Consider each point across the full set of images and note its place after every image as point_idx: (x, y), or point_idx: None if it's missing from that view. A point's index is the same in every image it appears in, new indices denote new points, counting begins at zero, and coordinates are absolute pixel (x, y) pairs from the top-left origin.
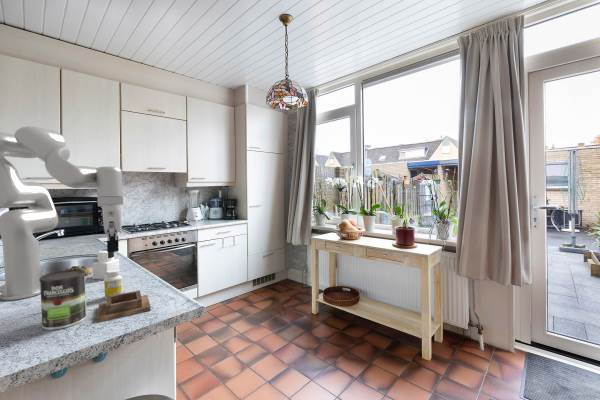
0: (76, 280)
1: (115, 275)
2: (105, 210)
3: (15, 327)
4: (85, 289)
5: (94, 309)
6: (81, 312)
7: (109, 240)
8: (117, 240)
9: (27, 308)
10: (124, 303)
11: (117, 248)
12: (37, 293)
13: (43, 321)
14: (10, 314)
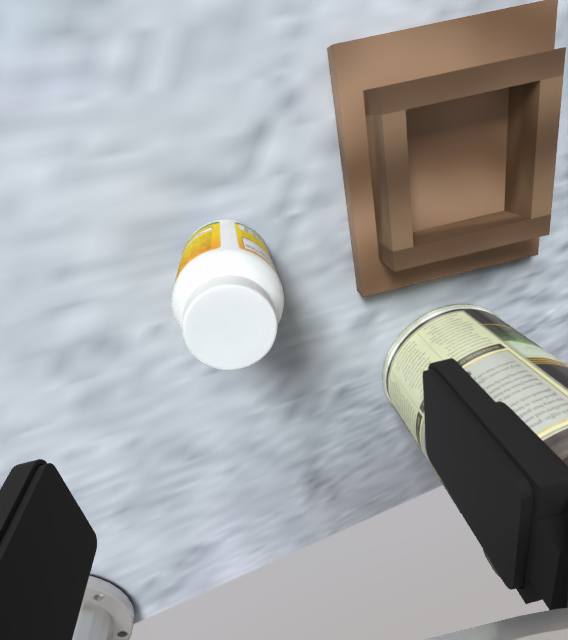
0: None
1: (266, 292)
2: None
3: (412, 482)
4: (522, 370)
5: (371, 302)
6: (505, 324)
7: (534, 579)
8: (561, 476)
9: (243, 531)
10: (554, 148)
11: (468, 386)
12: (89, 580)
13: None
14: (284, 547)
